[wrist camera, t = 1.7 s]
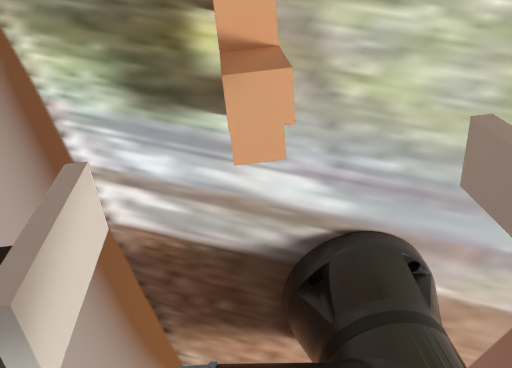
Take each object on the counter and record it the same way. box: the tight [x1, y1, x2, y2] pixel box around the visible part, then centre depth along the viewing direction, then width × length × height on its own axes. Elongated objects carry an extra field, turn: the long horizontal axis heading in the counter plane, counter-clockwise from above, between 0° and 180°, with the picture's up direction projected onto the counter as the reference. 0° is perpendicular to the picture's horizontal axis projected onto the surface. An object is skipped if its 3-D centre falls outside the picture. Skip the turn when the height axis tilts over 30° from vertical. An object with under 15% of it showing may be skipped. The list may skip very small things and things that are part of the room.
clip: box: [213, 0, 295, 166], centre depth 28 cm, size 12×4×12 cm, turn 5°
